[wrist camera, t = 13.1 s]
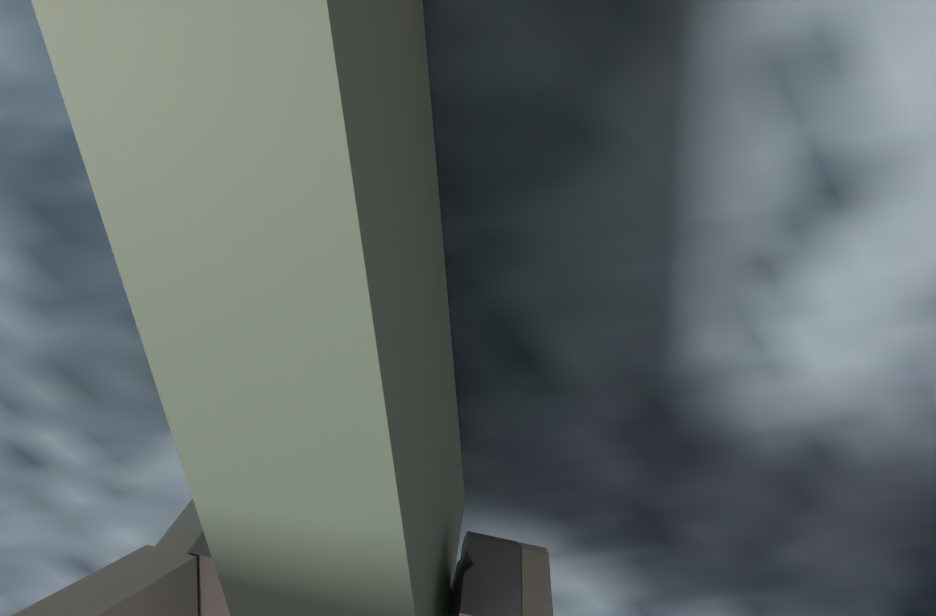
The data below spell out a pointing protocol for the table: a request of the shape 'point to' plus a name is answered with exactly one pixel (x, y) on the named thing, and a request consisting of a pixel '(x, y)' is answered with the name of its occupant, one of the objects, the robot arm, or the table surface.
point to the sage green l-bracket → (283, 281)
